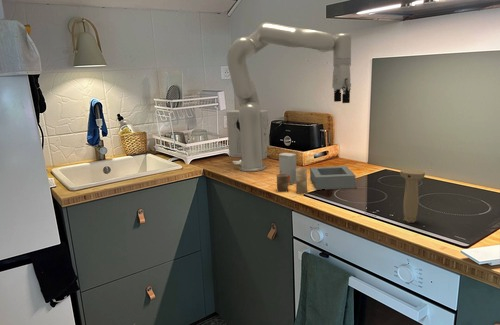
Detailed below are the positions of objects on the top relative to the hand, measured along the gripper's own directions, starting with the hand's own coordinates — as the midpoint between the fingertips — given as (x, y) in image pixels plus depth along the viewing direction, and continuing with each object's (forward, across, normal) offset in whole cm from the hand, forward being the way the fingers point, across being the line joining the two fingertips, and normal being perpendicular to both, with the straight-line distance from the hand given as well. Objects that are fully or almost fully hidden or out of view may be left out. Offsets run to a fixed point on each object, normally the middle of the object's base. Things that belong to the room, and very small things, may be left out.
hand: (341, 102), depth 171 cm
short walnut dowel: (+30, +28, -35) cm, 54 cm away
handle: (+30, +68, -6) cm, 75 cm away
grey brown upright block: (+30, +32, -28) cm, 52 cm away
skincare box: (+30, +18, -30) cm, 46 cm away
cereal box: (+30, -37, -38) cm, 61 cm away
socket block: (+30, +25, -14) cm, 41 cm away
